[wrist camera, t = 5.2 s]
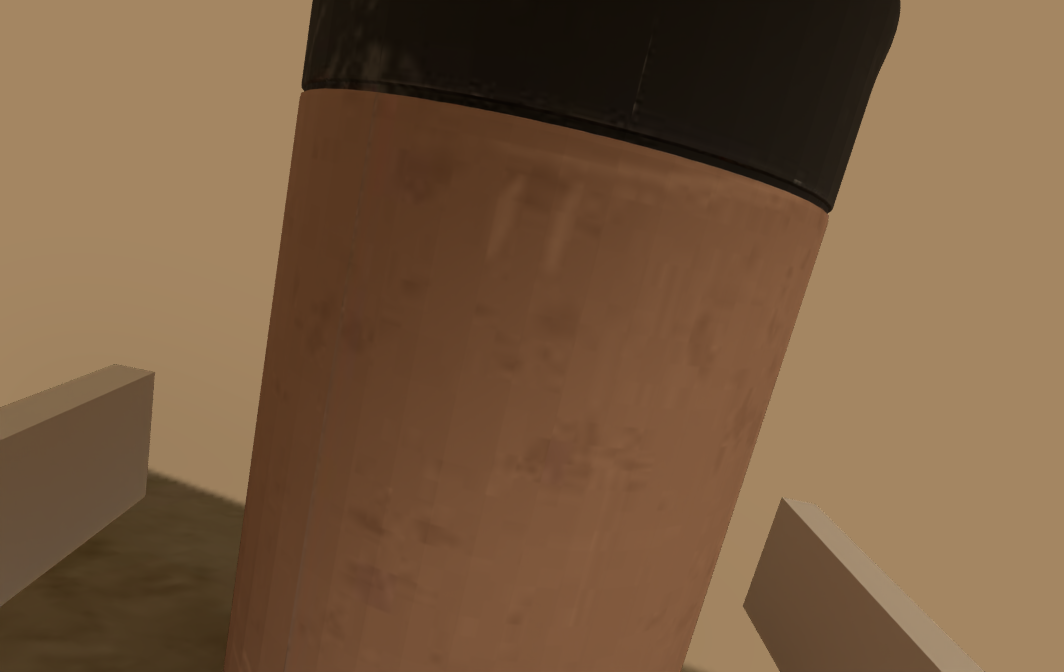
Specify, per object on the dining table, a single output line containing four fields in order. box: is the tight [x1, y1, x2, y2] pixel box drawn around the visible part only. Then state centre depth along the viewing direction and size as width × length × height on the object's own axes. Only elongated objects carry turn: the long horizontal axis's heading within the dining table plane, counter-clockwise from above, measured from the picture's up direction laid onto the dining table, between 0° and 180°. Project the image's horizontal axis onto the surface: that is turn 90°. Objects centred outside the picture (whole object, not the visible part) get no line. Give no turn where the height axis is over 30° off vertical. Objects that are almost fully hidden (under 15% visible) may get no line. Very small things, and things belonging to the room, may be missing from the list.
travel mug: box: [223, 0, 900, 672], centre depth 10 cm, size 8×8×20 cm
